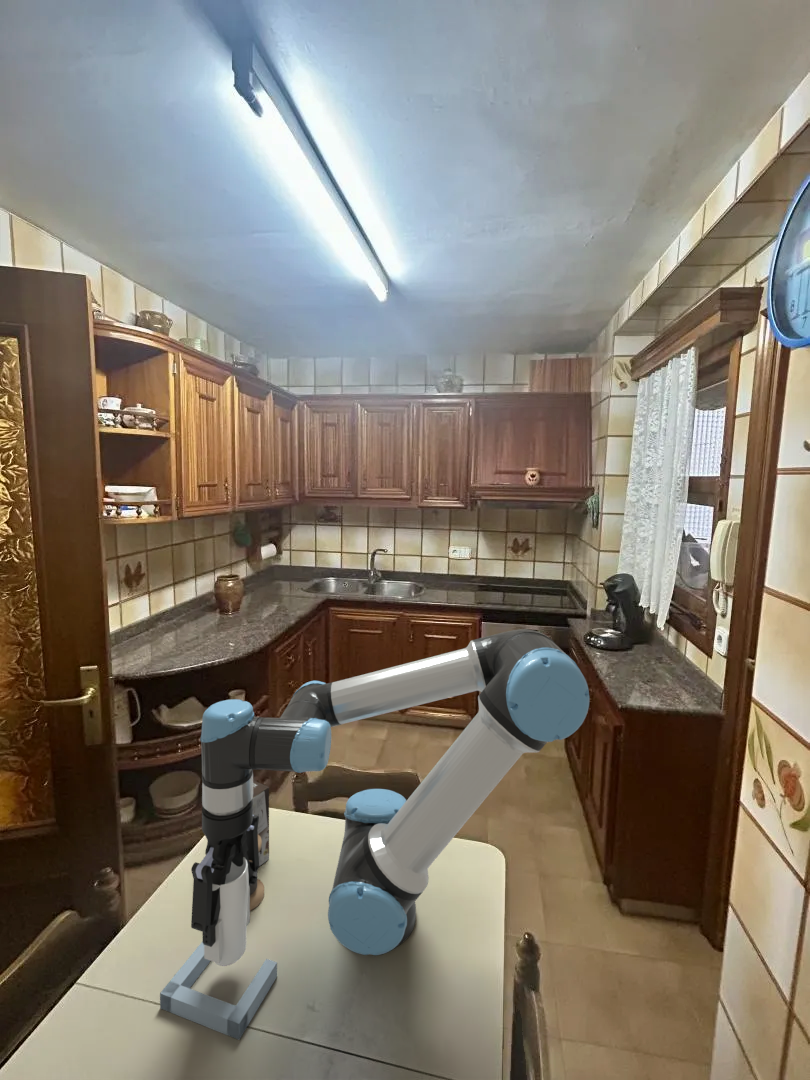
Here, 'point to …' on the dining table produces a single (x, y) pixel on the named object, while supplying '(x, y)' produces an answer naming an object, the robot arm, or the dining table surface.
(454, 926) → the dining table surface
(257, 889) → the bobbin
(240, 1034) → the blue u-shaped block
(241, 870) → the drinking glass
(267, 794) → the coffee box
